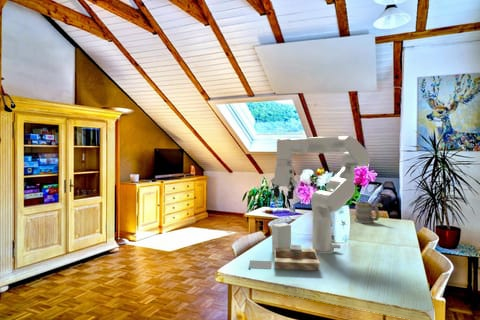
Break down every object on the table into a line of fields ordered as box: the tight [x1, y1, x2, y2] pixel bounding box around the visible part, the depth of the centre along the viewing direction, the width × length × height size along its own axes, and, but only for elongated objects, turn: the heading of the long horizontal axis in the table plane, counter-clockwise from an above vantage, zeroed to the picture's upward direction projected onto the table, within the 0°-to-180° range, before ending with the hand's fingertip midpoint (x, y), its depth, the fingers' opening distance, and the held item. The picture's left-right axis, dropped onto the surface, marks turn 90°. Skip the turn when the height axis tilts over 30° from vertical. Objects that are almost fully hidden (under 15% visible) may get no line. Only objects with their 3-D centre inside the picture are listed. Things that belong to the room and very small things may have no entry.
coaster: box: [248, 259, 272, 270], centre depth 150 cm, size 10×10×1 cm
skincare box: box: [271, 222, 292, 253], centre depth 169 cm, size 8×6×15 cm
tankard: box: [353, 201, 384, 224], centre depth 242 cm, size 20×13×15 cm, turn 43°
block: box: [290, 244, 303, 259], centre depth 151 cm, size 5×7×8 cm
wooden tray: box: [273, 248, 321, 271], centre depth 151 cm, size 19×20×5 cm
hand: (283, 197), depth 163 cm, fingers open, 9 cm apart
